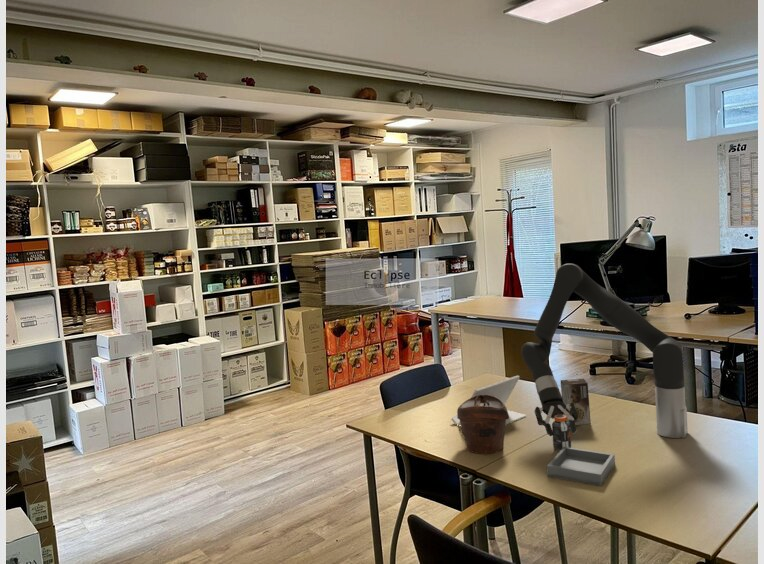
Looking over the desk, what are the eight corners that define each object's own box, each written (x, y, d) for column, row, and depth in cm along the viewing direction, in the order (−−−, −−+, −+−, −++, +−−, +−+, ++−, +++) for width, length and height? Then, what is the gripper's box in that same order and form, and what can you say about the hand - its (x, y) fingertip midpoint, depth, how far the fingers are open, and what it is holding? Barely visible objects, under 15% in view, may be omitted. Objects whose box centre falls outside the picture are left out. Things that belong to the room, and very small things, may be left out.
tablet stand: (527, 417, 232) (524, 375, 230) (483, 434, 217) (480, 391, 216) (493, 408, 247) (490, 369, 245) (450, 424, 232) (447, 383, 230)
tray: (615, 464, 181) (614, 454, 181) (601, 486, 168) (600, 474, 168) (564, 456, 191) (563, 446, 190) (547, 476, 178) (547, 465, 177)
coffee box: (586, 418, 223) (584, 378, 222) (591, 424, 217) (588, 382, 216) (562, 419, 224) (560, 379, 223) (566, 425, 218) (563, 384, 217)
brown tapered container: (491, 432, 218) (487, 386, 216) (522, 450, 199) (518, 400, 197) (449, 443, 212) (445, 396, 210) (477, 462, 193) (472, 411, 191)
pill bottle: (572, 451, 195) (570, 418, 193) (554, 451, 196) (552, 419, 195) (570, 444, 200) (568, 412, 199) (552, 444, 202) (550, 413, 200)
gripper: (530, 388, 203) (544, 431, 193) (570, 383, 204) (586, 426, 194) (526, 398, 209) (540, 441, 198) (565, 394, 210) (580, 436, 199)
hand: (562, 433), depth 196 cm, fingers open, 7 cm apart
